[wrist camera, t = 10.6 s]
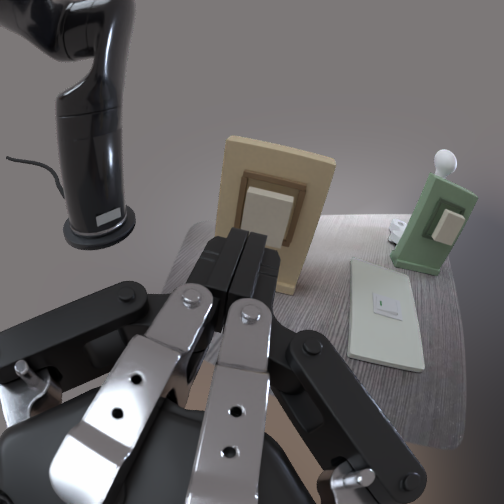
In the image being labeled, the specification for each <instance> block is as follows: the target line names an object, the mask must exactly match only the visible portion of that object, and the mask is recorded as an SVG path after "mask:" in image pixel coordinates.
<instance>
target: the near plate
mask: <svg viewBox="0 0 504 504" xmlns="http://www.w3.org/2000/svg"><path fill="white" fill-rule="evenodd" d="M335 168H336V163H335V160H334V159H333V158H330V157H326V156H322V155H318V154H315V153H311V152H308V151H304V150H300V149H296V148H292V147H287V146H283V145H279V144H274V143H269V142H265V141H260V140H255V139H250V138H245V137H239V136H234V135H232V136H230V137H229V138H228V139H226V145H225V151H224V159H223V167H222V175H221V184H220V192H219V201H218V210H217V219H216V229H215V237H216V236H220V237H224V238H227V236H228V234H229V232H230V230H231V228H232V227H234V228H238V229H241V224H242V218H243V212H244V206H245V201H246V195H247V191H248V189H249V187H254V188H259V189H263V190H268V191H272V192H276V193H280V194H284V195H288V196H292V197H294V200H293V205H292V209H291V212H290V216H289V220H288V223H287V227H286V231H285V234H284V238H283V242H282V245H281V249H279V248H275V247H271V246H267V245H265V248H269V249H273V250H277V251H278V254H279V256H280V259H281V262H280V267H279V273H278V279H277V284H276V290H275V291H276V292H280V293H284V294H288V295H293V293H294V291H295V286H296V283H297V280H298V278H299V275H300V272H301V270H302V267H303V264H304V261H305V259H306V256H307V253H308V250H309V247H310V244H311V242H312V239H313V236H314V233H315V230H316V227H317V224H318V221H319V218H320V215H321V212H322V209H323V206H324V203H325V199H326V197H327V194H328V190H329V187H330V184H331V181H332V178H333V174H334V171H335Z"/></svg>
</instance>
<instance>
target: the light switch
mask: <svg viewBox="0 0 504 504" xmlns="http://www.w3.org/2000/svg"><path fill="white" fill-rule="evenodd" d="M347 356H348V357H350V358H354V359H358V360H362V361H366V362H371V363H375V364H379V365H384V366H389V367H393V368H398V369H403V370H408V371H414V372H419V373H420V372H422V371H423V370H424V369H425V366H424V357H423V349H422V342H421V336H420V329H419V324H418V318H417V313H416V308H415V303H414V298H413V293H412V289H411V284H410V280H409V276H408V275H406V274H403V273H400V272H397V271H394V270H391V269H388V268H385V267H382V266H379V265H376V264H373V263H370V262H367V261H364V260H361V259H358V258H355V257H352V259H351V261H350V316H349V336H348V351H347Z"/></svg>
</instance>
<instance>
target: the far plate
mask: <svg viewBox="0 0 504 504" xmlns="http://www.w3.org/2000/svg"><path fill="white" fill-rule="evenodd" d="M477 200H478V197H477V196H476V195H475V194H474V193H473V192H471V191H469V190H467V189H465V188H463V187H461V186H459V185H457V184H454V183H452V182H450V181H448V180H446V179H444V178H442V177H439V176H437V175H435V174H432V173H430V174H429V177H428V179H427V181H426V184H425V187H424V189H423V191H422V193H421V196H420V198H419V200H418V203H417V205H416V207H415V209H414V212H413V214H412V216H411V218H410V220H409V222H408V224H407V226H406V228H405V230H404V232H403V234H402V236H401V238H400V240H399V242H398V244H397V246H396V248H395V250H392V252H391V254H390V257H391V259H392V262H393V264H394V266H395V267H399V268H403V269H408V270H413V271H417V272H422V273H426V274H431V275H435V276H438V274H439V273H440V267H441V266H442V264H443V263H444V261H445V259H446V258H447V256H448V254H449V253H450V251H451V249H452V247H453V246H454V244H455V242H456V241H457V239H458V237H459V235H460V233H461V232H462V230H463V228H464V226H465V224H466V222H467V220H468V218H469V216H470V214H471V212H472V210H473V208H474V206H475V204H476V202H477ZM445 209H447V210H450V211H452V212H455V213H457V214H460V215H462V216H463V217H464V218H465V222H464V224H463V226H462V227H461V229H460V231H459V233H458V235H457V237H456V239H455V240H454V242H453V244H452V246H450V245H447V244H444V243H441V242H438V241H434V239H433V238H432V234H433V232H434V230H435V228H436V226H437V224H438V222H439V220H440V218H441V216H442V214H443V212H444V210H445Z"/></svg>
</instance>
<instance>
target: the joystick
mask: <svg viewBox="0 0 504 504" xmlns="http://www.w3.org/2000/svg"><path fill="white" fill-rule="evenodd" d="M434 163H435V167H436V172H435V175H437V176H439V177H442V178H444V179H445V178H446V176H447V175H449V174H451V173H453V172H454V171H455V169H456V167H457V160H456V157H455V156H454V154H453V153H452V152H451V151H449V150H446V149H443V150H440V151H438V152H437V153H436V155H435V157H434ZM406 226H407V224H406V223H405V222H403V221H402V220H399V219H393V220H392V222H391V224H390V226H389V229H390V231H391V234H390V236H389V238H388V240H389V241H390V242H395V243H396V244H398V242H399V240H400V238H401V236H402V234H403V232H404V230H405V228H406ZM396 246H397V245H396ZM395 248H396V247H395Z"/></svg>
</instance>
